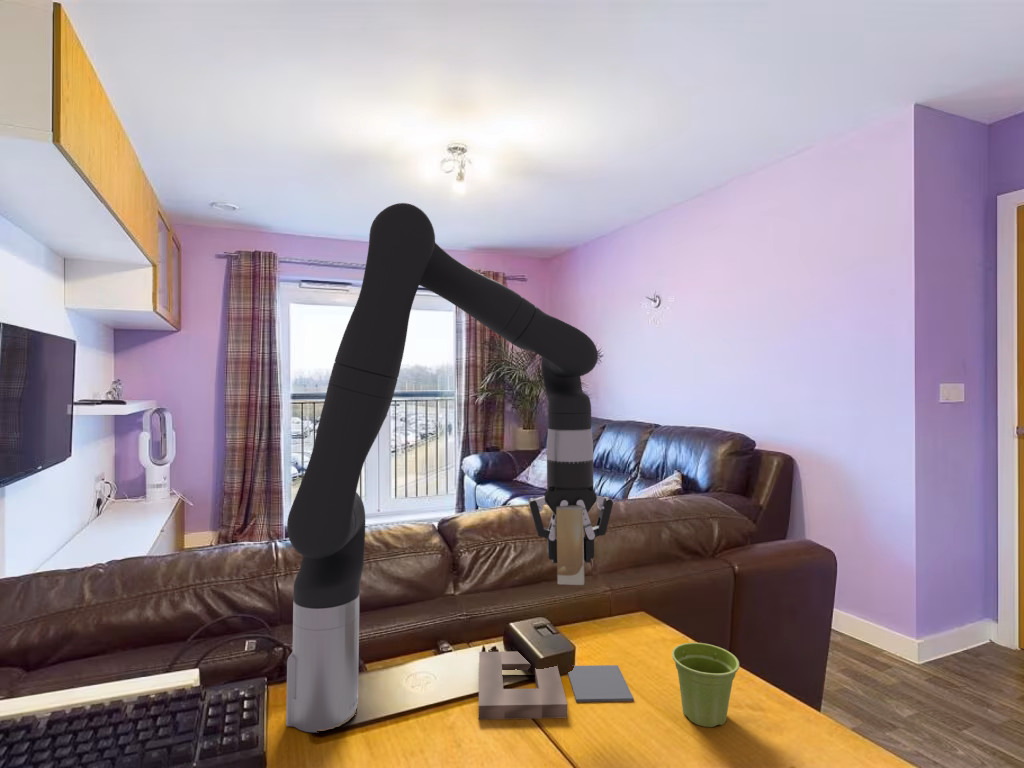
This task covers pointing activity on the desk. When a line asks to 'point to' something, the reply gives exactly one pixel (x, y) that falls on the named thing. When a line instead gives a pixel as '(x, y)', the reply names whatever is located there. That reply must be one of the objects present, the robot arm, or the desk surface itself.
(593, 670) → the mat
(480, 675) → the puzzle board
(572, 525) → the skincare box
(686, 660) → the plant pot
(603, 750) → the desk surface
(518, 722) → the desk surface
